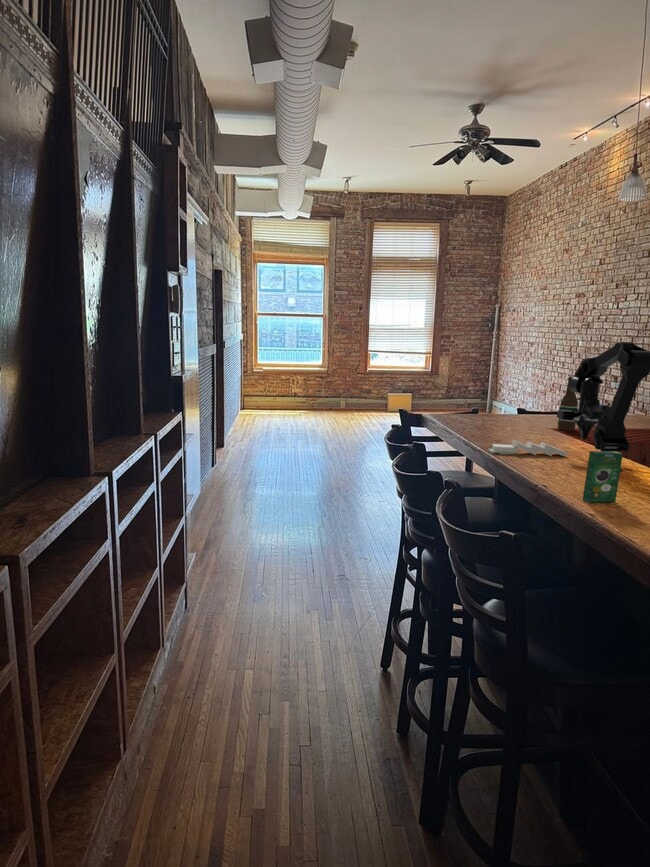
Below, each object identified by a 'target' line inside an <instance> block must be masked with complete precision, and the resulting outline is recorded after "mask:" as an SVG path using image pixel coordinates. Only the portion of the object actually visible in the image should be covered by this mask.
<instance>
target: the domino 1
mask: <svg viewBox="0 0 650 867" xmlns="http://www.w3.org/2000/svg"><path fill="white" fill-rule="evenodd" d="M488 452H489V453H490V452H491V453H500V454H499V455H506V454H515V455H516V452H502V451H494V450H493V449H492V448H488ZM491 453H490V454H491Z"/></svg>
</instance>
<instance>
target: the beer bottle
mask: <svg viewBox="0 0 650 867" xmlns="http://www.w3.org/2000/svg"><path fill="white" fill-rule="evenodd" d="M573 377H574V376H568V378H567V380H568V382H567V385H566V392H565V394H564V395H563V397H562V399H561V401H560V406H559V410H571V411H574V412H577V409H579V400H578V397H577V395H576V392H572V391H571V390H570V389H569V387H568V383H569V381H570V380H571V379H572V378H573ZM576 425H577V424H576V422H575V421H574V420H573V419H572V420H564V419H560V418H558V422H557V430H559V431H565V432H574V431H575V430H576Z"/></svg>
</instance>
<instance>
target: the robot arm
mask: <svg viewBox="0 0 650 867" xmlns="http://www.w3.org/2000/svg"><path fill="white" fill-rule="evenodd" d="M616 363H619V364H620V365H619V368H620V372H621V378H620V382H619V383H618V386H617V390H616V392H615V395H614V397H613V400H612V402H611V405H607V404H606V405H605V404H604V406H600V405H601V404H600V403H601V402H600V399H599V393H600V388H601V387H600V385H602V384H604V381H603V379H601V377H602V376H603V375H605V373H607V372H608V368H609V367H610V366H613V365H614V364H616ZM649 375H650V351H649V350H648V349H645V348H643V347H641V346H638V345H636V343H634V342H631V341H618V342H615V343H614V345H613V346H612V347H610V348H608V349H606V350H605V351H603V352H602V353H600V354H599V355H597V356H591V357H587V358H585V359H583V360H582V361H581V362H580V363H579V366H578V367H577V369H576V370H575V372H574V375H573V376H572V377H573V378H572V379H571V380H570V381H569V383H568V382H567V385H568V387H569V389H570V390H571V391H572V392H575V394H580V395H579V397H577V400H578V409H577V412H574V411H571V410H560V409H559V410H557V412H556V418H558V419H559V418H560V419H564V420H572V419H573V420H574V421H575V422H576V425H577V428H578V430H579V431H578V432H579V434H580V439H581V440H582V441H586V440H587V438H588V436H589V434H590V432H591V430H592V429H593V428H594V431H593V447H594V448H595V450H597V451H616V452H620V453H622V452H629V448H630V444H629V442H628V439H627V436H626V432H627V429H626V426H625V423H624V422H625V420H626V417H627V414H628V412H629V409H630V407H631V404H632V402H633V400H634V397H635V395H636V392H637V390H638V387H639V384H640V382H641V381H642V380H644V378H646V377H647V376H649ZM586 418H587V419H586ZM598 419H599V420H598ZM623 470H624V468H622V467H621V469H620V472H621V471H623Z"/></svg>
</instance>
